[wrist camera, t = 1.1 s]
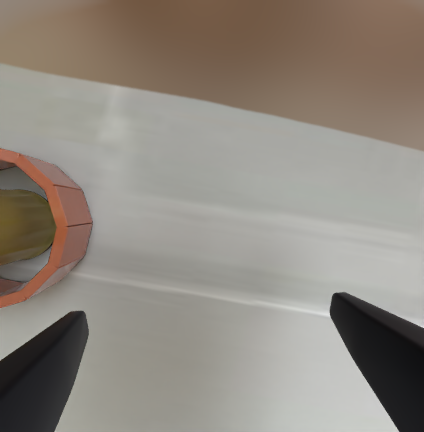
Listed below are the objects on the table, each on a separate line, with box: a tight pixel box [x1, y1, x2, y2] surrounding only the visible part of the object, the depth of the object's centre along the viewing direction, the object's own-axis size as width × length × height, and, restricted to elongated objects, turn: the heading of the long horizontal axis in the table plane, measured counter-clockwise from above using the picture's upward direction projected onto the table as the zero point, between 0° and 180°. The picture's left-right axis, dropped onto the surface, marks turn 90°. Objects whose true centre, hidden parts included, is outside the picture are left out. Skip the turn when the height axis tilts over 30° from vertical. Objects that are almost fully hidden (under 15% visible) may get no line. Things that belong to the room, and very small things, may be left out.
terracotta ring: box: [0, 148, 93, 308], centre depth 19 cm, size 12×12×4 cm
